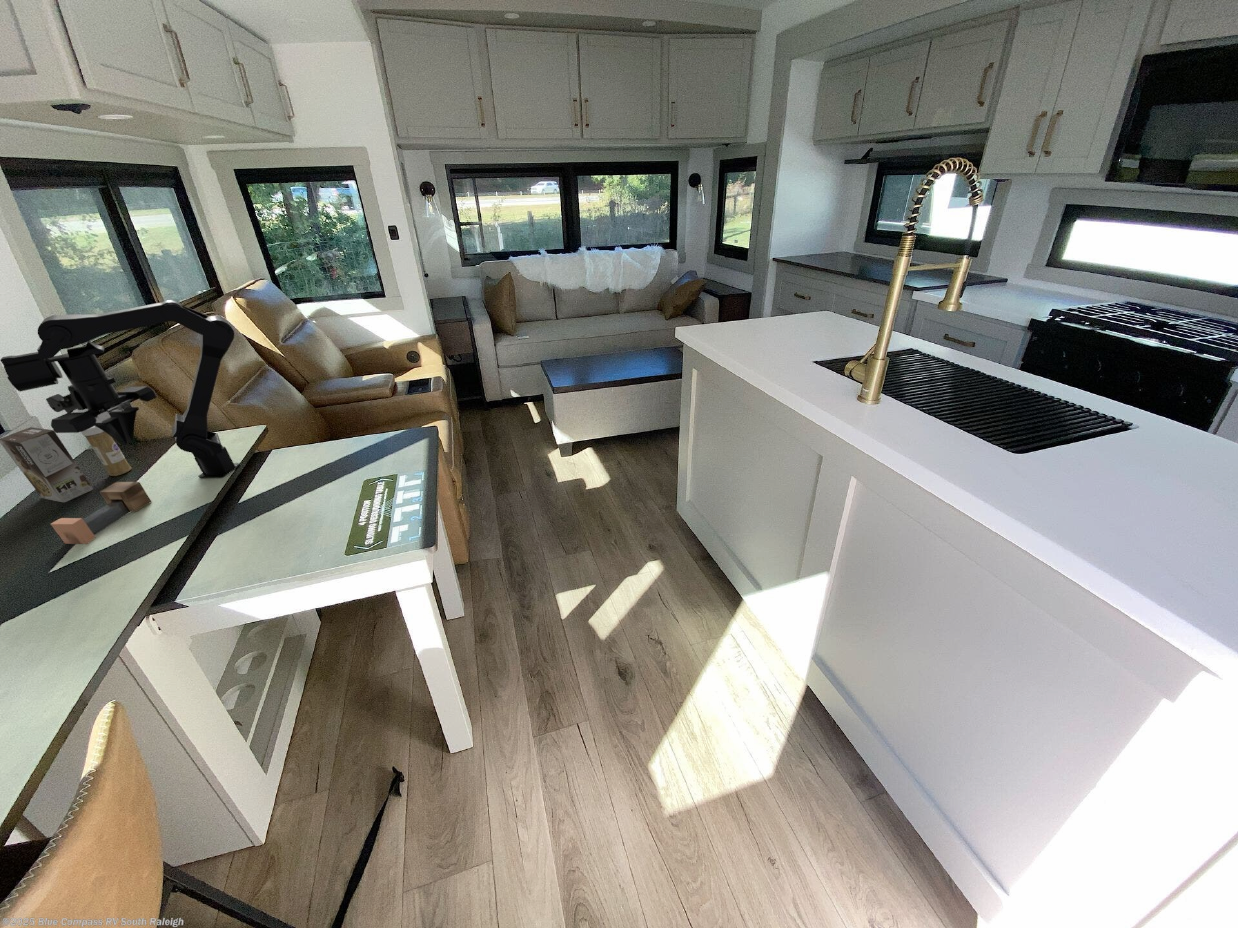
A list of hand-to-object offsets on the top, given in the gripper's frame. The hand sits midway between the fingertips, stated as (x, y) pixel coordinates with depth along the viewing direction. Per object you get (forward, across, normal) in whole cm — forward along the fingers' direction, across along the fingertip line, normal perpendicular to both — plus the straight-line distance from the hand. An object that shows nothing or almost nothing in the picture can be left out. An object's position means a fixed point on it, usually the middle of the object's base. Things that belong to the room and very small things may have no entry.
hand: (127, 443), depth 116 cm
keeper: (+13, +6, 0) cm, 15 cm away
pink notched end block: (+13, +18, 0) cm, 23 cm away
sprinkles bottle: (+13, -9, -19) cm, 25 cm away
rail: (+13, +12, 0) cm, 17 cm away
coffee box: (+13, +1, -23) cm, 27 cm away
